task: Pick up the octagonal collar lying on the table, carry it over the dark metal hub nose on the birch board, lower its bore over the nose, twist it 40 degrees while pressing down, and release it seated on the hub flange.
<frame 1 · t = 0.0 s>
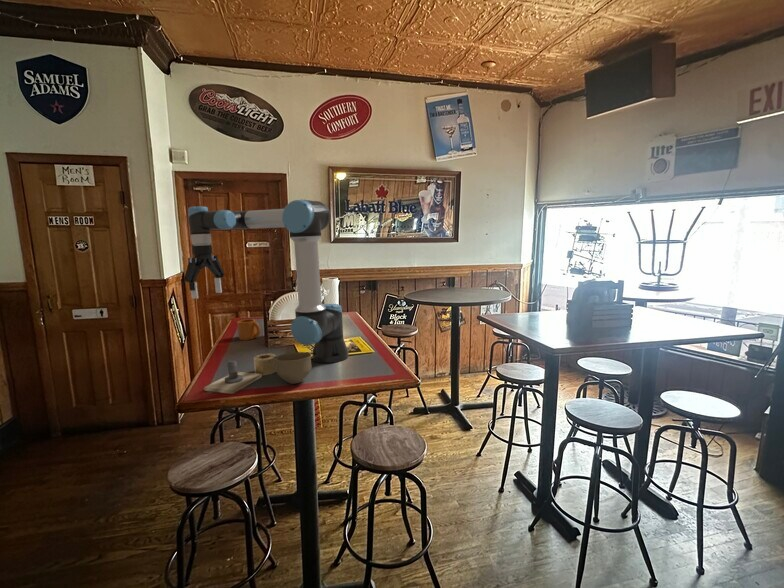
hand: (207, 295, 173), 28 cm above the table, fingers open, 13 cm apart
mug: (250, 338, 210), on the table
collar: (266, 371, 159), on the table
bowl: (295, 382, 148), on the table
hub: (234, 383, 148), on the table
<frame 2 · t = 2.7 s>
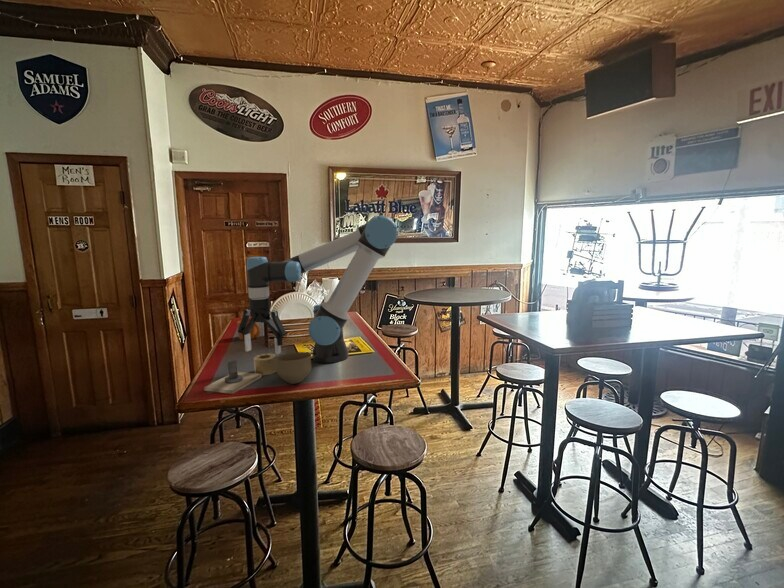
hand: (263, 352, 158), 8 cm above the table, fingers open, 13 cm apart
nothing on the table moved.
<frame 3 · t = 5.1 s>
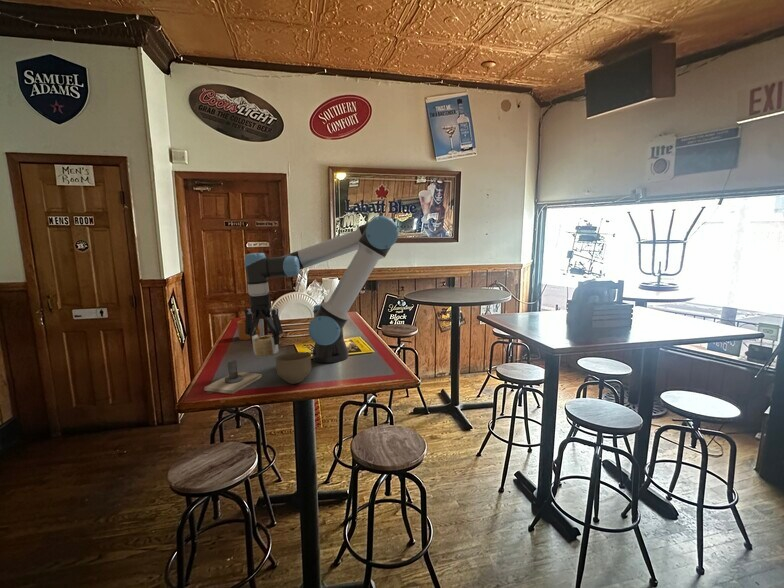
hand: (266, 352, 158), 8 cm above the table, fingers closed on collar, 8 cm apart
collar: (266, 352, 158), point 8 cm above the table, touching gripper
everything else where it was.
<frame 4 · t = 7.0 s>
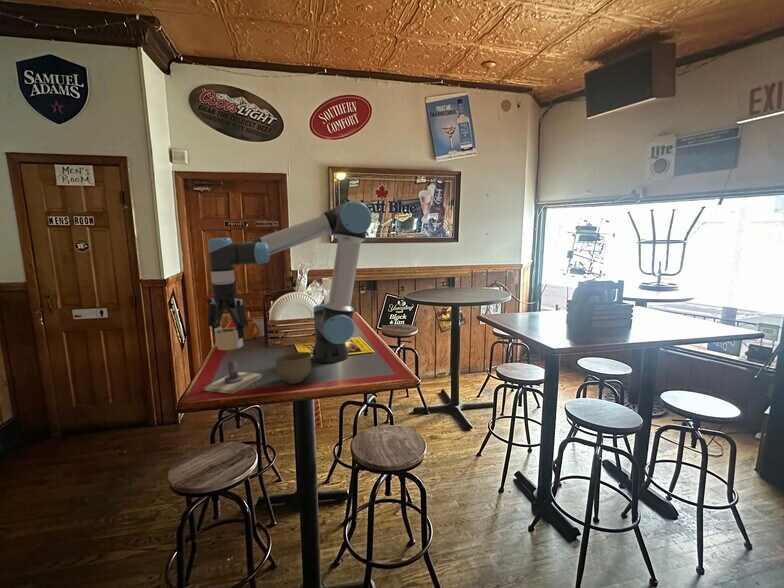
hand: (229, 346, 146), 14 cm above the table, fingers closed on collar, 8 cm apart
collar: (229, 346, 146), point 14 cm above the table, touching gripper
everything else where it was.
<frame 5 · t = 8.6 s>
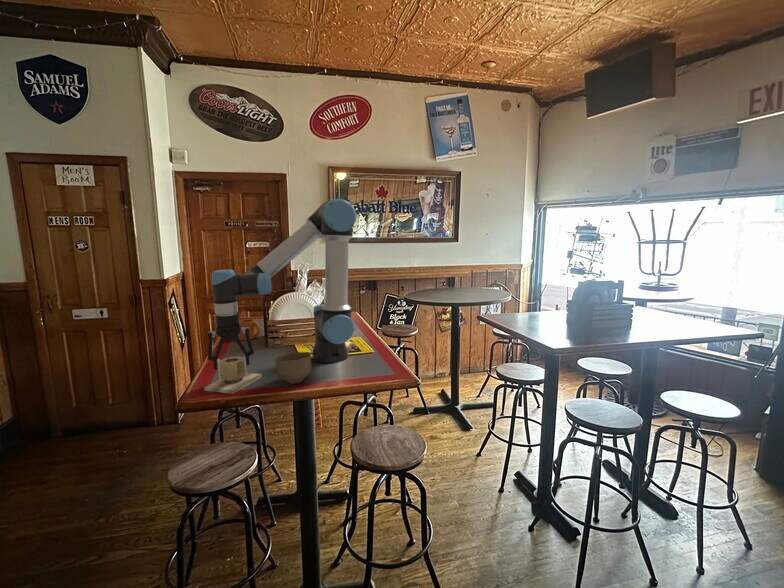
hand: (233, 375, 148), 3 cm above the table, fingers closed on collar, 8 cm apart
collar: (233, 376, 148), point 3 cm above the table, touching gripper
everything else where it was.
when the fingers open (2 cm above the table, at t = 9.2 s): collar stays where it is, resting on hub.
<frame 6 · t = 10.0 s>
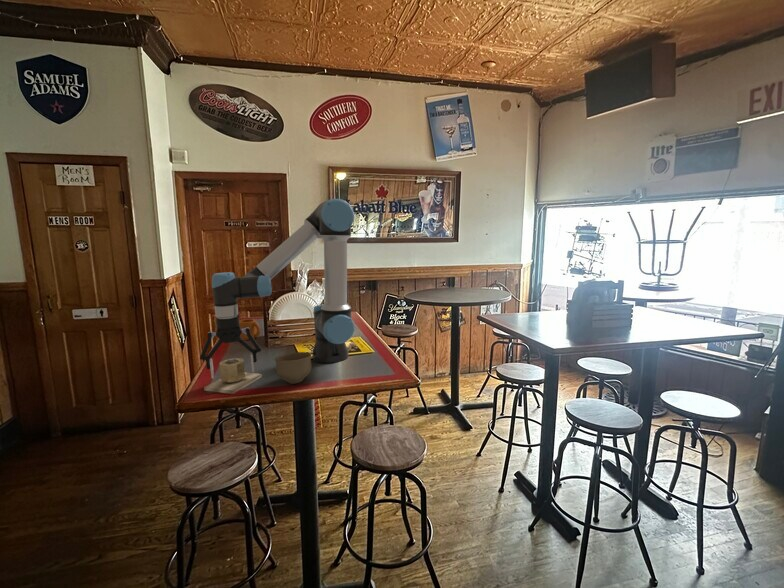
hand: (233, 374, 148), 4 cm above the table, fingers open, 13 cm apart
collar: (233, 377, 148), point 2 cm above the table, touching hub
everything else where it was.
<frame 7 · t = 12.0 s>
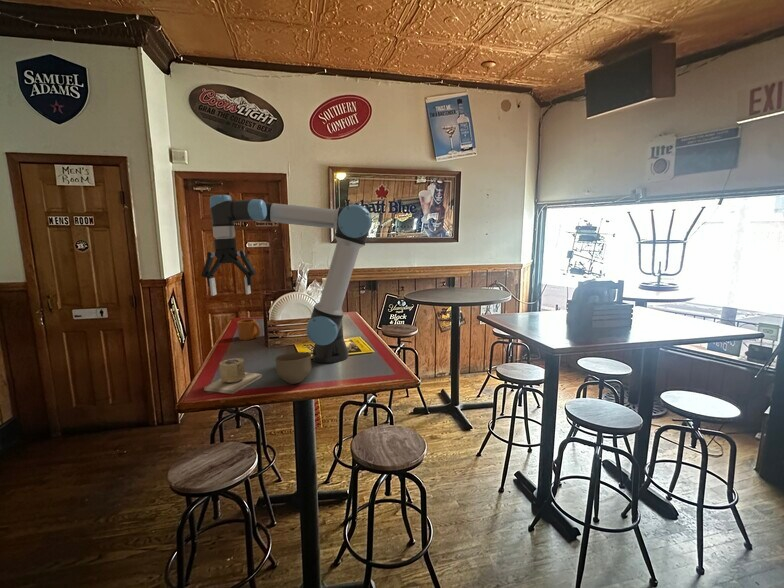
hand: (231, 294, 155), 31 cm above the table, fingers open, 13 cm apart
nothing on the table moved.
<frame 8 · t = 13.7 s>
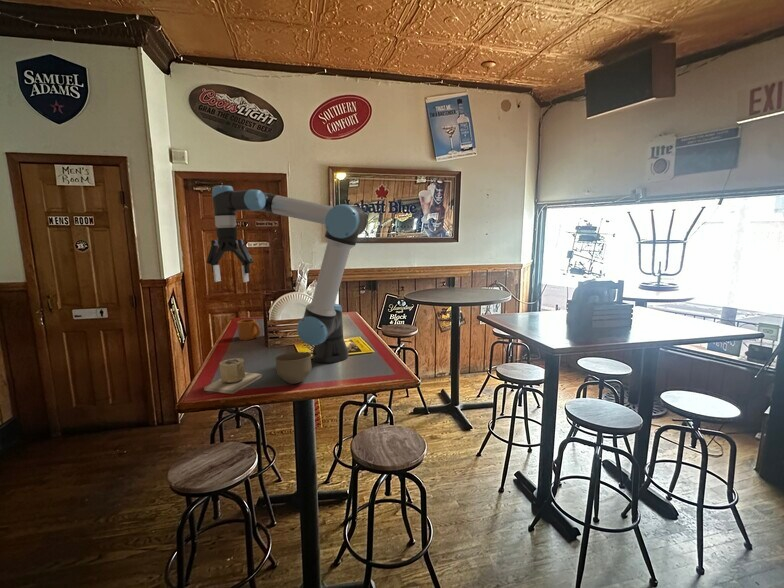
hand: (231, 281, 162), 35 cm above the table, fingers open, 13 cm apart
nothing on the table moved.
at the end: collar 0.1 cm off-centre on the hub, point 2.2 cm above the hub's base; the gripper is holding nothing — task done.
